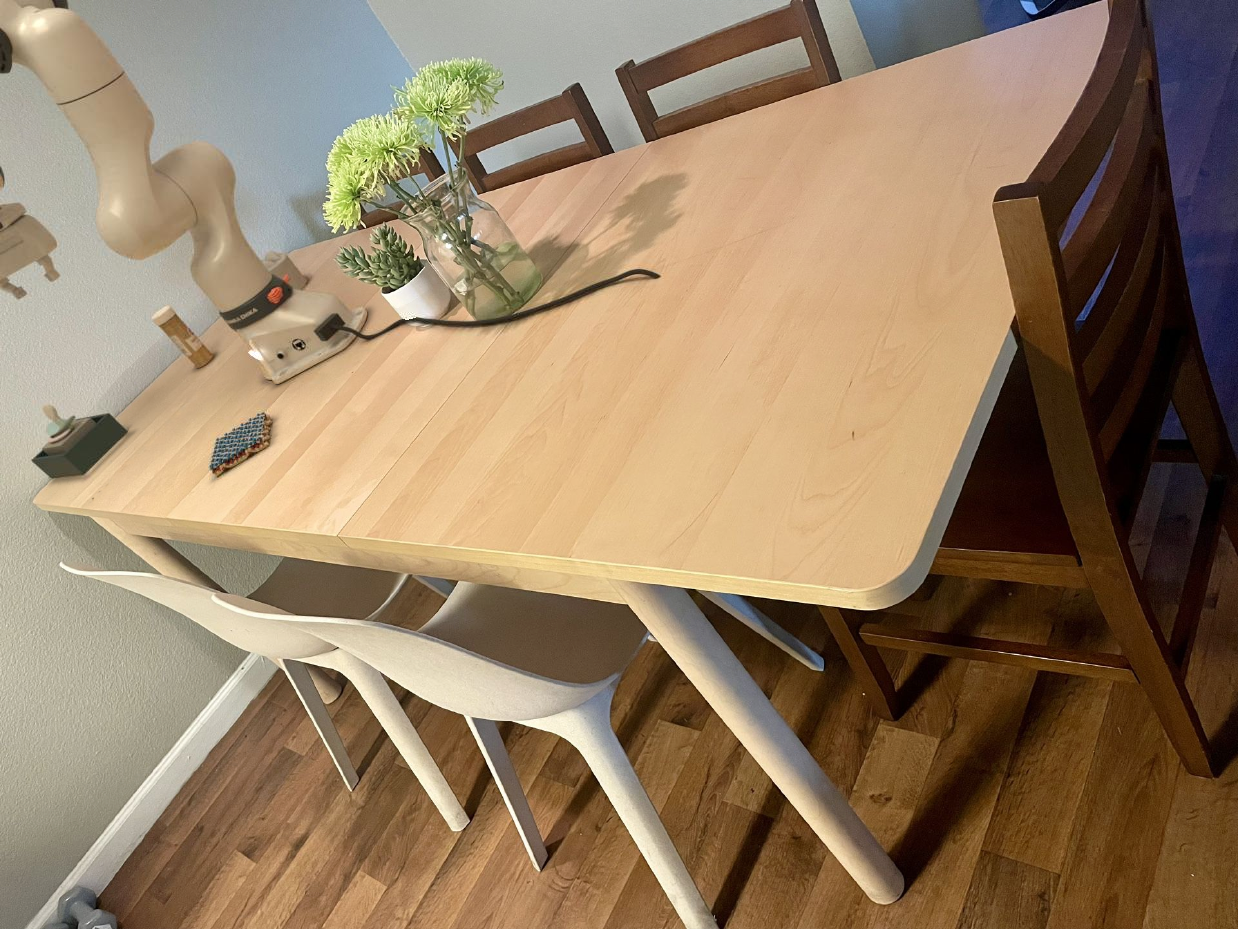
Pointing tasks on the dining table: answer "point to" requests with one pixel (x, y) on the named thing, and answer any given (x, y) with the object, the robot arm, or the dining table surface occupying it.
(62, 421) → the pacifier
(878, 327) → the dining table surface
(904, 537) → the dining table surface
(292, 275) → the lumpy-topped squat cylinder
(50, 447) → the block
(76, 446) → the crate
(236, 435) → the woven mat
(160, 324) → the sprinkles bottle
